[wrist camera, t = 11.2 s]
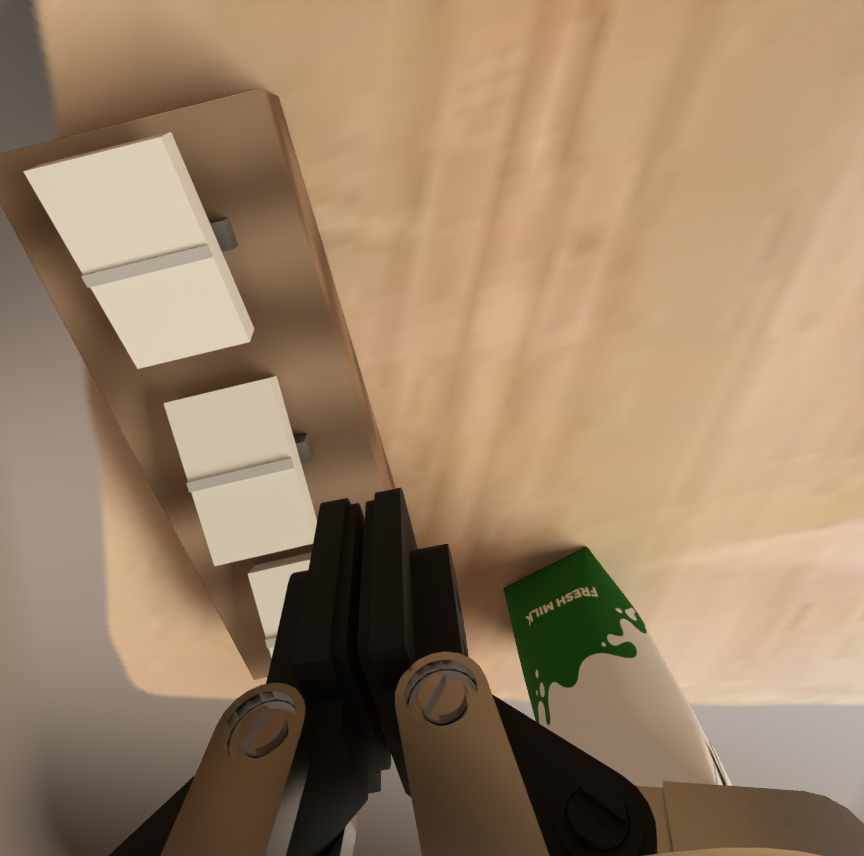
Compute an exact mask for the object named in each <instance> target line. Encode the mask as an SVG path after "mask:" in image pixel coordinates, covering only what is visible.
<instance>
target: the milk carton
mask: <svg viewBox="0 0 864 856" xmlns="http://www.w3.org/2000/svg"><path fill="white" fill-rule="evenodd" d="M504 592H505V596H506V600H507V605H508V610H509V614H510V619H511V623H512V628H513V632H514V637H515V641H516V646H517V650H518V654H519V658H520V662H521V666H522V670H523V674H524V679H525V682H526V686H527V690H528V694H529V697H530V701H531V705H532V708H533V712H534V716H535V720H536V722H537V723H539V724H541V725H542V726H544V727H546V728H547V729H549V730H550V731H552V732H554V733H555V734H557V735H558V736H560V737H562V738H563V739H565V740H567V741H568V742H570V743H571V744H573V745H575V746H576V747H578V748H579V749H581V750H583V751H584V752H586V753H588V754H589V755H591V756H592V757H594V758H596V759H597V760H599V761H600V762H602V763H604V764H605V765H607V766H609V767H610V768H612V769H613V770H615V771H617V772H618V773H620V774H621V775H623V776H624V777H625V778H627V779H628V780H629V781H630V782H631V783H633V784H634V785H635V786H647V787H660V788H662V781H671V782H685V783H698V784H712V785H726V786H732V784H731V782H730V780H729V778H728V776H727V774H726V772H725V769H724V767H723V765H722V763H721V761H720V759H719V757H718V755H717V753H716V751H715V750H714V747H713V746H712V744H711V742H708V740H707V738H706V736H705V734H704V732H703V730H702V728H701V726H700V723H699V721H698V719H697V718H696V716H695V714H694V712H693V710H692V709H691V707H690V705H689V703H688V701H687V699H686V698H685V696H684V694H683V692H682V690H681V688H680V687H679V685H678V683H677V681H676V679H675V677H674V676H673V674H672V672H671V670H670V668H669V667H668V665H667V663H666V661H665V659H664V657H663V656H662V654H661V652H660V650H659V648H658V647H657V645H656V643H655V641H654V639H653V638H652V636H651V634H650V632H649V630H648V629H647V627H646V626H645V624H644V622H643V621H642V619H641V618H640V616H639V614H638V613H637V612H636V610H635V609H634V607H633V606H632V604H631V603H630V602H629V600H628V599H627V598H626V597H625V595H624V594H623V593H622V591H621V590H620V589H619V588H618V586H617V585H616V584H615V582H614V581H613V580H612V579H611V577H610V576H609V575H608V574H607V572H606V571H605V570H604V568H603V567H602V566H601V564H600V563H599V562H598V561H597V559H596V558H595V557H594V555H593V554H592V553H591V551H590V550H589V549H588V547H586V548H584V549H582V550H580V551H578V552H576V553H574V554H572V555H570V556H568V557H566V558H564V559H562V560H560V561H558V562H556V563H554V564H552V565H550V566H548V567H546V568H544V569H542V570H540V571H538V572H536V573H534V574H532V575H530V576H528V577H526V578H524V579H522V580H520V581H518V582H516V583H514V584H512V585H510V586H508V587H506V588H504ZM713 752H714V753H713Z"/></svg>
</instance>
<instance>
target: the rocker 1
mask: <svg viewBox="0 0 864 856" xmlns="http://www.w3.org/2000/svg"><path fill="white" fill-rule="evenodd" d="M23 172H24V174H25V175H26V177H27V179H28V181H29V182H30V184H31V186H32V188H33V189H34V191H35V193H36V194H37V196H38V198H39V200H40V201H41V203H42V205H43V207H44V208H45V210H46V212H47V213H48V215H49V217H50V219H51V220H52V222H53V224H54V226H55V227H56V229H57V231H58V232H59V234H60V236H61V238H62V239H63V241H64V243H65V245H66V246H67V248H68V250H69V251H70V253H71V255H72V257H73V258H74V260H75V262H76V264H77V265H78V267H79V269H80V270H81V272H82V274H83V275H82V276H81V277H82V279H83V281H84V282H85V284H86V286H87V288H91V289H92V291H93V293H94V295H95V296H96V298H97V300H98V302H99V303H100V305H101V307H102V308H103V310H104V312H105V314H106V315H107V317H108V319H109V321H110V322H111V324H112V326H113V327H114V329H115V331H116V333H117V334H118V336H119V338H120V340H121V341H122V343H123V345H124V346H125V348H126V350H127V352H128V353H129V355H130V357H131V359H132V360H133V362H134V364H135V365H136V367H137V369H140V368H144V367H148V366H152V365H157V364H161V363H165V362H169V361H173V360H177V359H181V358H186V357H190V356H194V355H198V354H202V353H206V352H211V351H215V350H219V349H223V348H227V347H231V346H235V345H240V344H244V343H248V342H250V340H251V337H252V334H253V331H254V327H253V324H252V322H251V320H250V317H249V315H248V313H247V310H246V308H245V305H244V303H243V301H242V298H241V296H240V294H239V291H238V289H237V287H236V284H235V282H234V279H233V277H232V275H231V272H230V270H229V268H228V265H227V263H226V261H225V258H224V256H223V253H222V251H221V249H220V246H219V244H218V242H217V239H216V237H215V235H214V232H213V230H212V227H211V225H210V223H209V220H208V218H207V216H206V213H205V211H204V208H203V206H202V204H201V201H200V199H199V197H198V194H197V192H196V190H195V187H194V185H193V182H192V180H191V178H190V175H189V173H188V171H187V168H186V166H185V164H184V161H183V159H182V156H181V154H180V152H179V149H178V147H177V145H176V142H175V140H174V138H173V135H172V133H171V132H167V133H164V134H160V135H156V136H152V137H148V138H144V139H140V140H136V141H132V142H128V143H124V144H120V145H116V146H112V147H108V148H104V149H100V150H96V151H92V152H88V153H84V154H80V155H76V156H72V157H68V158H64V159H60V160H56V161H52V162H48V163H44V164H40V165H38V166H35V167H33V168H30V169H28V170H26V171H23Z"/></svg>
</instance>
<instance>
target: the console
mask: <svg viewBox="0 0 864 856" xmlns="http://www.w3.org/2000/svg"><path fill="white" fill-rule="evenodd" d="M167 132H171V133H172V135H173V138H174V140H175V142H176V145H177V147H178V149H179V152H180V154H181V156H182V159H183V161H184V164H185V166H186V168H187V171H188V173H189V175H190V178H191V180H192V182H193V185H194V187H195V190H196V192H197V194H198V197H199V199H200V201H201V204H202V206H203V208H204V211H205V213H206V216H207V218H208V220H209V223H210V225H211V227H212V230H213V232H214V235H215V237H216V239H217V242H218V244H219V246H220V249H221V251H222V253H223V256H224V258H225V261H226V263H227V265H228V268H229V270H230V272H231V275H232V277H233V279H234V282H235V284H236V287H237V289H238V291H239V294H240V296H241V298H242V301H243V303H244V305H245V308H246V310H247V313H248V315H249V317H250V320H251V322H252V324H253V327H254V331H253V334H252V337H251V340H250V342H248V343H244V344H240V345H235V346H231V347H227V348H223V349H219V350H215V351H211V352H206V353H202V354H198V355H194V356H190V357H186V358H181V359H177V360H173V361H169V362H165V363H161V364H157V365H152V366H148V367H144V368H140V369H137V367H136V365H135V364H134V362H133V360H132V359H131V357H130V355H129V353H128V352H127V350H126V348H125V346H124V345H123V343H122V341H121V340H120V338H119V336H118V334H117V333H116V331H115V329H114V327H113V326H112V324H111V322H110V321H109V319H108V317H107V315H106V314H105V312H104V310H103V308H102V307H101V305H100V303H99V302H98V300H97V298H96V296H95V295H94V293H93V291H92V289H91V288H87V286H86V284H85V282H84V281H83V279H82V277H81V276H82V275H83V274H82V272H81V270H80V269H79V267H78V265H77V264H76V262H75V260H74V258H73V257H72V255H71V253H70V251H69V250H68V248H67V246H66V245H65V243H64V241H63V239H62V238H61V236H60V234H59V232H58V231H57V229H56V227H55V226H54V224H53V222H52V220H51V219H50V217H49V215H48V213H47V212H46V210H45V208H44V207H43V205H42V203H41V201H40V200H39V198H38V196H37V194H36V193H35V191H34V189H33V188H32V186H31V184H30V182H29V181H28V179H27V177H26V175H25V174H24V172H23V171H26V170H28V169H30V168H33V167H35V166H38V165H40V164H44V163H48V162H52V161H56V160H60V159H64V158H68V157H72V156H76V155H80V154H84V153H88V152H92V151H96V150H100V149H104V148H108V147H112V146H116V145H120V144H124V143H128V142H132V141H136V140H140V139H144V138H148V137H152V136H156V135H160V134H164V133H167ZM0 204H1V206H2V207H3V210H4V211H5V214H6V215H7V217H8V219H9V221H10V223H11V225H12V227H13V228H14V230H15V232H16V234H17V236H18V238H19V240H20V242H21V244H22V245H23V247H24V249H25V251H26V253H27V255H28V257H29V259H30V260H31V262H32V264H33V266H34V268H35V270H36V272H37V273H38V275H39V277H40V279H41V281H42V283H43V285H44V287H45V289H46V290H47V292H48V294H49V296H50V298H51V300H52V302H53V304H54V305H55V307H56V309H57V311H58V313H59V315H60V317H61V318H62V321H63V322H64V324H65V326H66V328H67V330H68V332H69V333H70V336H71V337H72V339H73V341H74V343H75V345H76V347H77V349H78V351H79V352H80V354H81V356H82V358H83V360H84V362H85V364H86V366H87V367H88V369H89V371H90V373H91V375H92V377H93V379H94V381H95V382H96V384H97V386H98V388H99V390H100V392H101V394H102V396H103V397H104V399H105V401H106V403H107V405H108V407H109V409H110V411H111V412H112V414H113V416H114V418H115V420H116V422H117V424H118V426H119V427H120V429H121V431H122V433H123V435H124V437H125V439H126V441H127V442H128V444H129V446H130V448H131V450H132V452H133V454H134V456H135V457H136V459H137V461H138V463H139V465H140V467H141V469H142V471H143V472H144V474H145V476H146V478H147V480H148V482H149V484H150V486H151V487H152V489H153V491H154V493H155V495H156V497H157V499H158V501H159V502H160V504H161V506H162V508H163V510H164V512H165V514H166V516H167V517H168V519H169V521H170V523H171V525H172V527H173V529H174V531H175V533H176V534H177V536H178V538H179V540H180V542H181V544H182V546H183V548H184V549H185V551H186V553H187V555H188V557H189V559H190V561H191V563H192V564H193V566H194V568H195V570H196V572H197V574H198V576H199V578H200V579H201V581H202V583H203V585H204V587H205V589H206V591H207V593H208V594H209V596H210V598H211V600H212V602H213V604H214V606H215V608H216V609H217V611H218V613H219V615H220V617H221V619H222V621H223V623H224V624H225V626H226V628H227V630H228V632H229V634H230V636H231V638H232V639H233V641H234V643H235V645H236V647H237V649H238V651H239V653H240V654H241V656H242V658H243V660H244V662H245V664H246V666H247V668H248V669H249V671H250V673H251V675H252V677H253V679H254V680H256V679H260V678H264V677H268V673H269V668H270V664H271V659H272V658H271V655H270V651H269V648H267V646H266V642H265V639H266V637H265V633H264V630H263V626H262V623H261V619H260V616H259V612H258V609H257V605H256V602H255V598H254V595H253V591H252V588H251V584H250V581H249V577H248V573H249V572H250V571H251V569H252V568H253V567H254V566H255V565H258V564H262V563H267V562H271V561H275V560H280V559H284V558H288V557H293V556H297V555H301V554H306V553H310V552H312V546H313V544H309V545H305V546H300V547H296V548H292V549H287V550H283V551H279V552H274V553H270V554H266V555H261V556H257V557H253V558H248V559H244V560H240V561H235V562H231V563H227V564H222V565H218V566H214V563H213V560H212V557H211V554H210V551H209V547H208V544H207V541H206V538H205V535H204V531H203V528H202V525H201V522H200V519H199V515H198V512H197V509H196V506H195V503H194V499H193V496H192V493H191V492H190V493H189V490H188V487H187V482H188V480H187V477H186V474H185V471H184V467H183V464H182V461H181V458H180V455H179V451H178V448H177V445H176V442H175V439H174V435H173V432H172V429H171V426H170V423H169V419H168V416H167V413H166V410H165V407H164V403H166V402H170V401H174V400H178V399H183V398H187V397H191V396H195V395H199V394H203V393H208V392H212V391H216V390H220V389H224V388H229V387H233V386H237V385H241V384H245V383H249V382H254V381H258V380H262V379H266V378H270V377H275V376H277V379H278V383H279V386H280V390H281V393H282V397H283V401H284V404H285V408H286V411H287V415H288V419H289V422H290V426H291V429H292V433H293V436H294V440H295V444H296V447H297V451H298V454H299V458H300V462H301V465H302V469H303V472H304V476H305V480H306V483H307V487H308V490H309V494H310V497H311V501H312V505H313V508H314V512H315V515H316V519H318V513H319V507H320V504H321V503H323V502H328V501H334V500H339V499H344V498H348V499H349V501H350V503H351V504H355V503H359V504H360V506H361V509H362V512H363V515H364V518H365V506H366V501H371V500H374V495H375V493H376V492H381V491H386V490H391V489H395V485H394V482H393V479H392V475H391V472H390V469H389V465H388V462H387V459H386V455H385V452H384V449H383V445H382V442H381V439H380V435H379V432H378V428H377V425H376V422H375V418H374V415H373V412H372V408H371V405H370V402H369V398H368V395H367V392H366V388H365V385H364V382H363V378H362V375H361V372H360V368H359V365H358V361H357V358H356V355H355V351H354V348H353V345H352V341H351V338H350V335H349V331H348V328H347V325H346V321H345V318H344V315H343V311H342V308H341V304H340V301H339V298H338V294H337V291H336V288H335V284H334V281H333V278H332V274H331V271H330V268H329V264H328V261H327V258H326V254H325V251H324V248H323V244H322V241H321V237H320V234H319V231H318V227H317V224H316V221H315V217H314V214H313V211H312V207H311V204H310V201H309V197H308V194H307V191H306V187H305V184H304V180H303V177H302V174H301V170H300V167H299V164H298V160H297V157H296V154H295V150H294V147H293V144H292V140H291V137H290V134H289V130H288V127H287V124H286V120H285V117H284V113H283V110H282V107H281V103H280V100H279V97H278V96H276V95H273V94H271V93H269V92H267V91H264V90H262V89H260V88H258V89H254V90H250V91H246V92H242V93H238V94H234V95H230V96H226V97H222V98H218V99H214V100H210V101H206V102H203V103H199V104H195V105H191V106H187V107H183V108H179V109H175V110H171V111H167V112H163V113H159V114H155V115H151V116H147V117H143V118H139V119H135V120H131V121H127V122H123V123H119V124H115V125H111V126H107V127H103V128H99V129H96V130H92V131H88V132H84V133H80V134H76V135H72V136H68V137H64V138H60V139H56V140H52V141H48V142H44V143H40V144H36V145H32V146H29V147H24V148H21V149H17V150H13V151H8V152H4V153H1V154H0Z"/></svg>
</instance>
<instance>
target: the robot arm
mask: <svg viewBox="0 0 864 856" xmlns="http://www.w3.org/2000/svg"><path fill="white" fill-rule="evenodd" d="M391 754H392V757H393V760H394V763H395V765H396V768H397V771H398V773H399V776H400V779H401V782H402V784H403V787H404V790H405V792H406V794H408V795H409V796H410V797H411V798H412V804H413V809H414V815H415V820H416V826H417V832H418V837H419V843H420V849H421V854H422V856H864V824H863V823H862V822H861V821H860V820H859V819H858V818H857V817H856V816H855V815H854V814H853V813H852V812H851V811H850V810H848V809H847V808H846V807H844V806H842V805H840V804H838V803H837V802H835V801H833V800H831V799H829V798H828V797H826V796H822V795H817V794H813V793H809V792H805V791H794V790H780V789H767V788H753V787H739V786H726V785H712V784H698V783H685V782H671V781H662V788H660V787H647V786H635V785H634V784H633V783H631V782H630V781H629V780H628V779H627V778H625V777H624V776H623V775H621V774H620V773H618V772H617V771H615V770H613V769H612V768H610V767H609V766H607V765H605V764H604V763H602V762H600V761H599V760H597V759H596V758H594V757H592V756H591V755H589V754H588V753H586V752H584V751H583V750H581V749H579V748H578V747H576V746H575V745H573V744H571V743H570V742H568V741H567V740H565V739H563V738H562V737H560V736H558V735H557V734H555V733H554V732H552V731H550V730H549V729H547V728H546V727H544V726H542V725H541V724H539V723H537V722H536V721H534V720H532V719H531V718H529V717H528V716H526V715H525V714H523V713H521V712H520V711H518V710H516V709H515V708H513V707H512V706H510V705H508V704H507V703H505V702H504V701H502V700H500V699H499V698H497V697H495V696H494V695H492V693H491V690H490V687H489V684H488V682H487V679H486V676H485V675H484V673H483V671H482V669H481V668H480V666H479V665H478V664H477V663H476V662H474V661H473V660H472V659H471V658H469V656H468V649H467V642H466V635H465V629H464V622H463V615H462V609H461V603H460V597H459V591H458V586H457V581H456V576H455V571H454V566H453V562H452V557H451V553H450V549H449V545H448V544H444V545H439V546H433V547H428V548H423V549H418V548H417V545H416V541H415V537H414V533H413V529H412V525H411V521H410V517H409V513H408V509H407V505H406V502H405V498H404V494H403V491H402V488H396V489H391V490H386V491H381V492H376V493H375V495H374V500H371V501H366V506H365V518H364V515H363V512H362V509H361V506H360V504H359V503H355V504H351V503H350V501H349V499H348V498H344V499H339V500H334V501H328V502H323V503H321V504H320V507H319V513H318V519H317V524H316V530H315V535H314V541H313V546H312V552H311V558H310V563H309V569H308V570H305V571H300V572H295V573H292V574H291V576H290V578H289V581H288V585H287V590H286V595H285V599H284V604H283V608H282V613H281V618H280V622H279V627H278V631H277V636H276V641H275V645H274V650H273V654H272V659H271V664H270V668H269V673H268V677H267V682H266V684H264V685H260V686H258V687H256V688H253V689H251V690H249V691H247V692H246V693H244V694H243V695H242V696H240V697H239V698H237V699H236V700H235V701H234V702H233V703H232V704H231V705H230V706H229V707H228V708H227V710H226V711H225V712H224V713H223V715H222V717H221V718H220V720H219V722H218V724H217V725H216V728H215V730H214V732H213V735H212V737H211V739H210V742H209V744H208V746H207V749H206V751H205V754H204V756H203V758H202V760H201V763H200V765H199V767H198V770H197V772H196V774H195V776H194V777H192V778H191V779H190V780H189V781H188V782H187V783H186V784H185V785H184V786H183V787H182V788H181V789H180V790H179V791H177V792H176V793H175V794H174V795H173V796H172V797H171V798H170V799H169V800H168V801H167V802H166V803H165V804H164V805H162V806H161V807H160V808H159V809H158V810H157V811H156V812H155V813H154V814H153V815H152V816H151V817H150V818H149V819H147V820H146V821H145V822H144V823H143V824H142V825H141V826H140V827H139V828H138V829H137V830H136V831H135V832H134V833H133V834H131V835H130V836H129V837H128V838H127V839H126V840H125V841H124V842H123V843H122V844H121V845H120V846H119V847H117V848H116V849H115V850H114V851H113V852H112V853H111V854H110V855H109V856H352V854H353V848H354V842H355V837H356V823H357V819H356V813H357V812H358V811H359V810H360V809H361V807H362V806H363V805H364V804H365V803H366V801H367V800H368V793H374V792H379V791H381V770H387V769H390V766H391Z"/></svg>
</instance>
